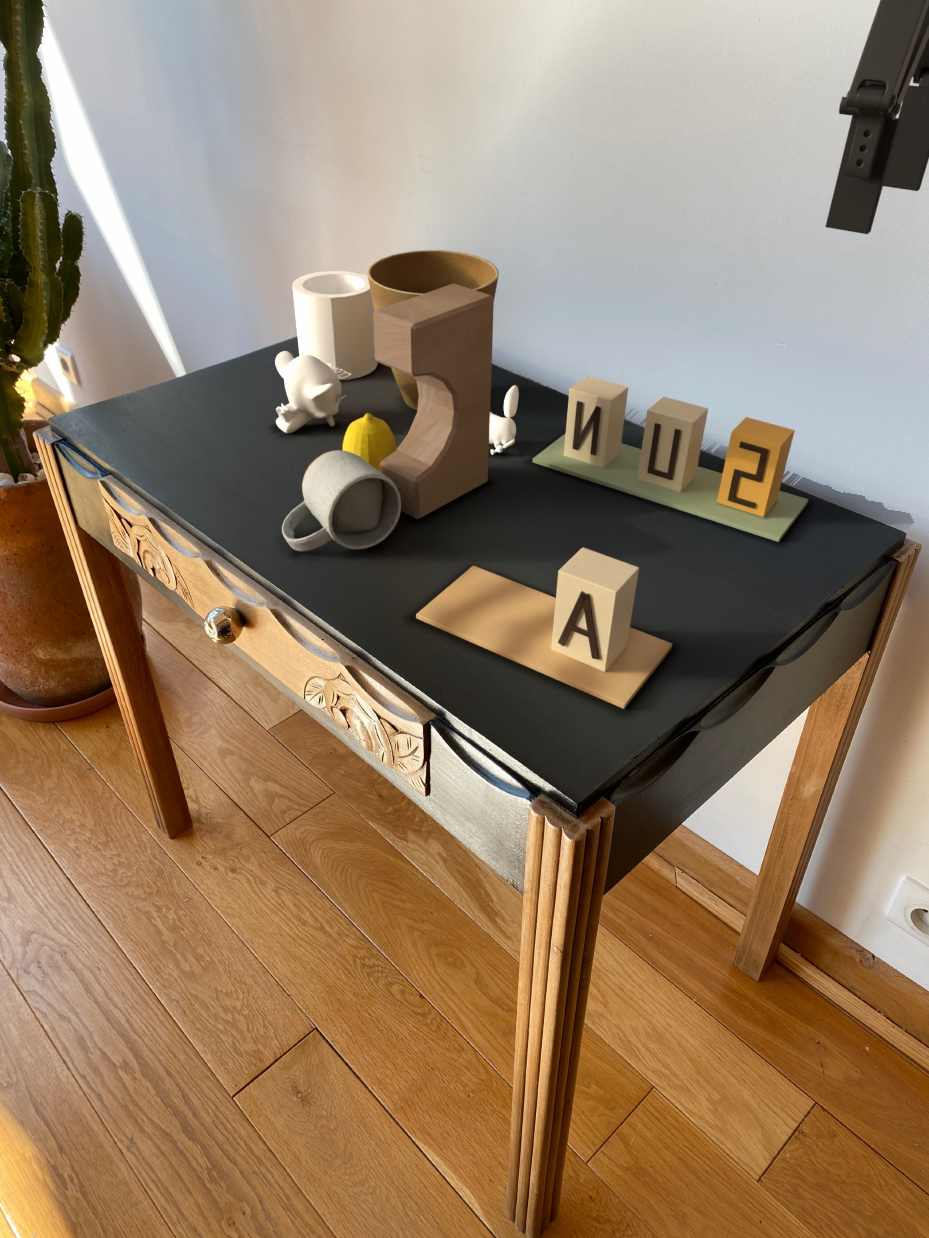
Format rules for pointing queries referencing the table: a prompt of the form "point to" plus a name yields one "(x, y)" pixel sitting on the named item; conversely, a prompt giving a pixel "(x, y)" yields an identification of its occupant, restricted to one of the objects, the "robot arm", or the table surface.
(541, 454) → the board
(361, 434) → the fruit
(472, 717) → the table surface
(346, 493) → the ceramic mug
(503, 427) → the rabbit figurine
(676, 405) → the U tile
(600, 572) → the tile
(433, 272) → the plant pot
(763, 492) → the orange block
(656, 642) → the front word board
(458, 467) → the decorative block
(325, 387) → the figurine
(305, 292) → the mug
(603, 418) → the wooden letter block
